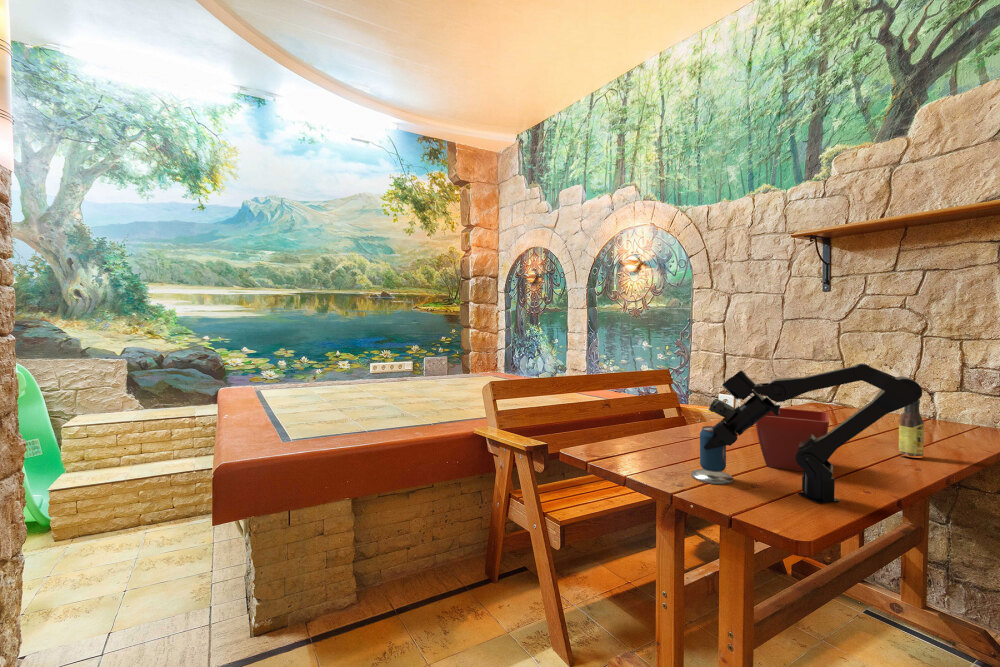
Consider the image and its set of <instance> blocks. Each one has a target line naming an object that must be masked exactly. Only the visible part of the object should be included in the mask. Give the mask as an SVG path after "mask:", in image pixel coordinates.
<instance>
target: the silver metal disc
mask: <svg viewBox="0 0 1000 667" xmlns="http://www.w3.org/2000/svg"><path fill="white" fill-rule="evenodd" d="M690 476H691V478H692V477H693V478H692V479H694V478H695V479H697V480H696V481H698V480H699V481H698V482H700V481H702V482H701V483H704V482H705V483H704V484H708V483H709V485H716V484H717V485H719V486H720V485H722V484H723V486H725V484H726V485H729V484H732V483H733V482H734V480H733V479H734V477H733V476H732V475H730V474H729V473H727V472H724V471H722V472H710V471H706V470H704V469H703V468H701V469H694V470H692V471H691V472H690ZM695 479H694V480H695ZM717 485H716V486H717Z"/></svg>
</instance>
